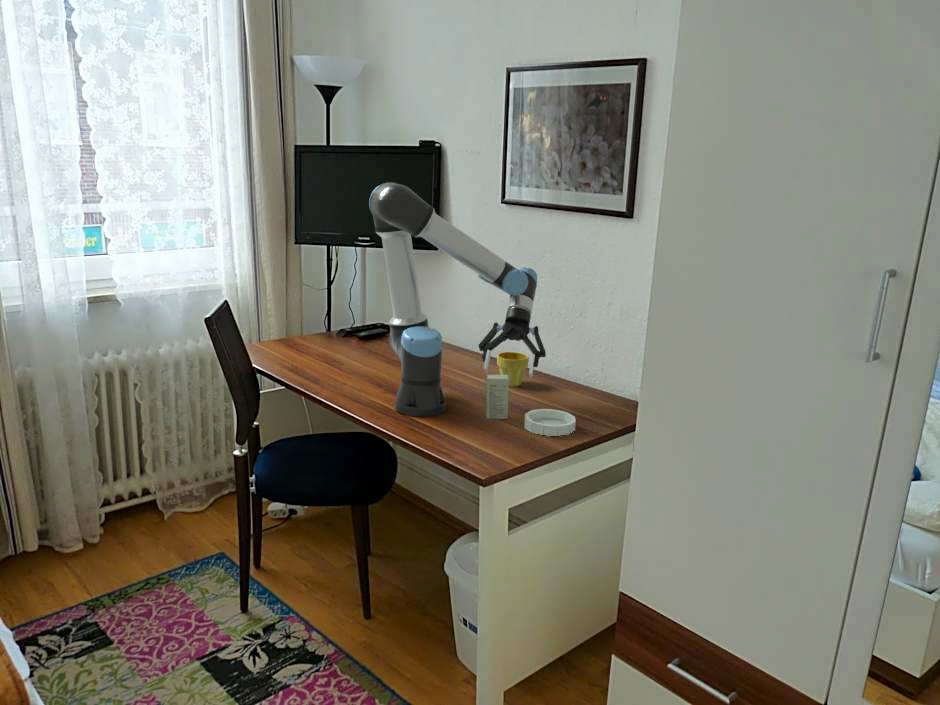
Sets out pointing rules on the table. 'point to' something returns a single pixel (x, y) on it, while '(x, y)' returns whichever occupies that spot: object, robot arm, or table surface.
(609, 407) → the table surface
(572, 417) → the celadon dish
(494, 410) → the skincare box
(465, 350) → the table surface
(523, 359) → the plant pot
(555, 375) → the table surface
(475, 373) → the table surface
